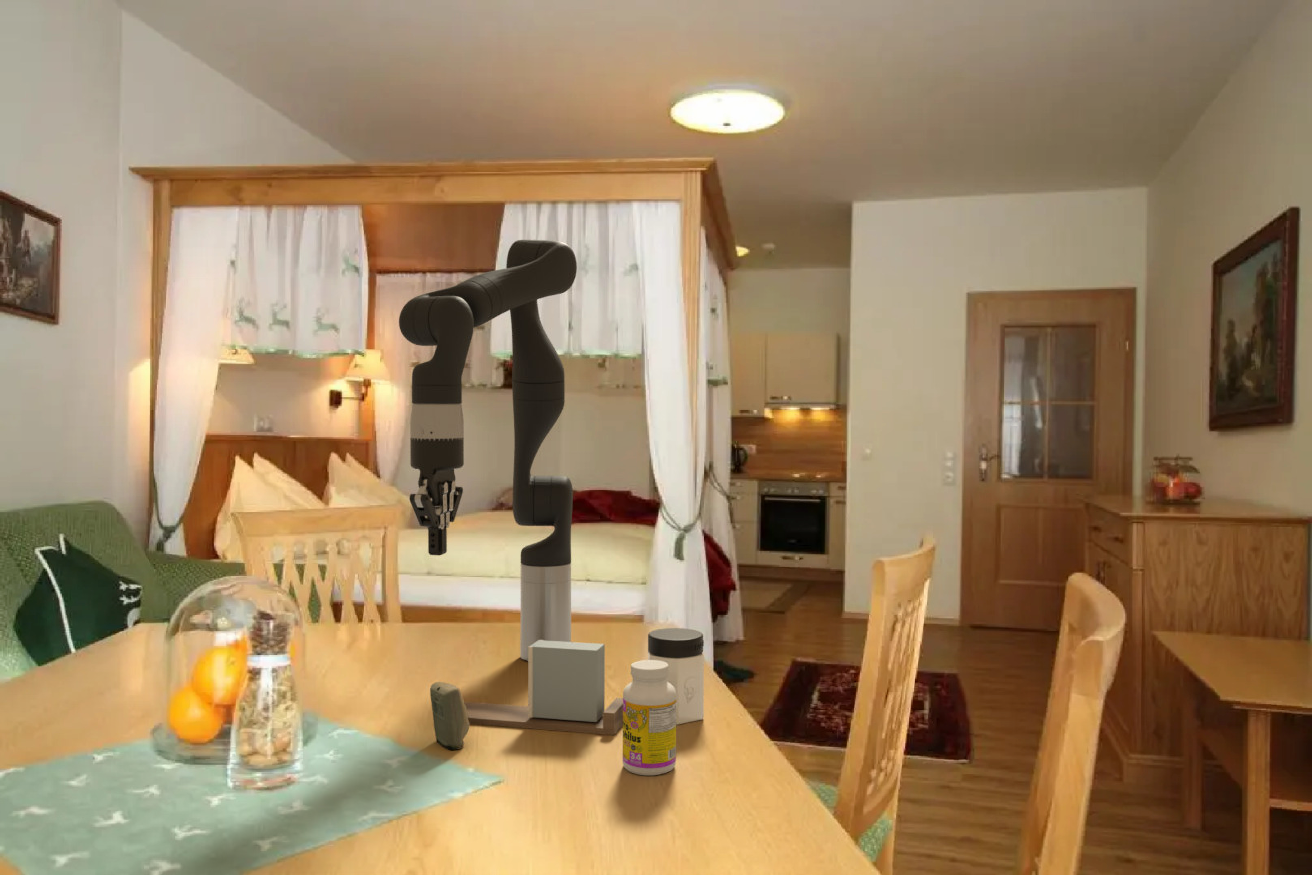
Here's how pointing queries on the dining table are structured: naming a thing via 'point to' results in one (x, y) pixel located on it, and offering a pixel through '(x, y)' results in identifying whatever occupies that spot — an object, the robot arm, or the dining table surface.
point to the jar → (682, 668)
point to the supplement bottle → (649, 720)
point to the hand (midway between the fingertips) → (437, 554)
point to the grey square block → (566, 680)
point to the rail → (519, 718)
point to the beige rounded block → (449, 715)
